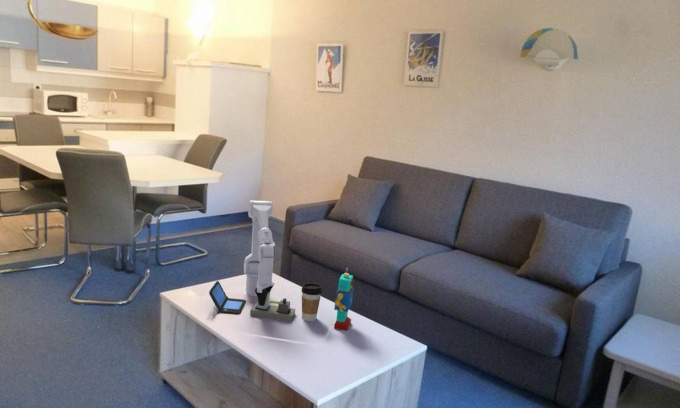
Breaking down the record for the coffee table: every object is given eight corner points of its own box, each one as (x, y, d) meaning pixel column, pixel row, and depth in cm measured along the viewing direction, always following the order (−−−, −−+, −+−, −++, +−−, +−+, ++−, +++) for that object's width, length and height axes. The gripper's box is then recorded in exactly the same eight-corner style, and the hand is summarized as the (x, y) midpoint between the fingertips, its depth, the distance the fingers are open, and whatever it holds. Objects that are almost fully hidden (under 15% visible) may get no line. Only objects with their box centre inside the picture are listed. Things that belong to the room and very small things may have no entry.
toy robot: (346, 332, 208) (352, 272, 204) (331, 329, 209) (337, 270, 205) (351, 321, 220) (357, 264, 215) (337, 319, 221) (343, 262, 216)
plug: (259, 304, 219) (261, 287, 218) (269, 305, 219) (270, 288, 217) (257, 307, 215) (258, 290, 214) (266, 309, 215) (267, 291, 213)
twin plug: (279, 313, 219) (281, 296, 217) (289, 315, 218) (290, 297, 217) (277, 317, 215) (278, 299, 213) (286, 318, 214) (288, 301, 213)
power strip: (255, 309, 222) (256, 302, 222) (294, 315, 220) (295, 308, 219) (250, 316, 214) (250, 309, 214) (290, 322, 212) (290, 315, 212)
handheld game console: (239, 316, 214) (241, 295, 212) (207, 313, 214) (208, 292, 212) (246, 302, 229) (247, 282, 228) (216, 299, 229) (217, 279, 227)
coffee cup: (310, 325, 211) (313, 290, 209) (294, 319, 216) (297, 284, 214) (323, 320, 218) (326, 286, 215) (307, 313, 223) (310, 280, 220)
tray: (269, 303, 230) (269, 300, 230) (287, 305, 229) (287, 302, 229) (264, 309, 223) (264, 306, 222) (282, 312, 222) (283, 309, 221)
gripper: (270, 279, 207) (267, 311, 209) (279, 268, 221) (277, 298, 223) (252, 276, 208) (250, 308, 210) (263, 266, 222) (261, 296, 224)
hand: (263, 303), depth 217 cm, fingers closed on plug, 4 cm apart
